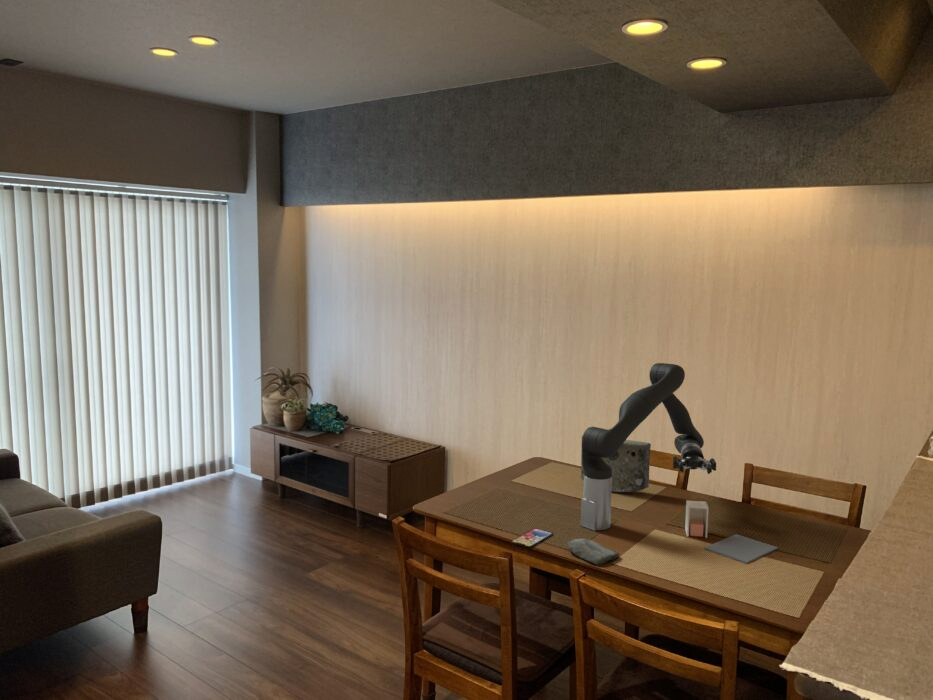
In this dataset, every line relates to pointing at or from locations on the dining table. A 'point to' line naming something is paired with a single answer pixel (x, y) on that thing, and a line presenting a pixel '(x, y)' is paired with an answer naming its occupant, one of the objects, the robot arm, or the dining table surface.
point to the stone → (591, 551)
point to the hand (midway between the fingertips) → (695, 470)
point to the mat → (741, 548)
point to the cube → (696, 528)
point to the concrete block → (629, 466)
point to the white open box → (696, 514)
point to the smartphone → (531, 538)
